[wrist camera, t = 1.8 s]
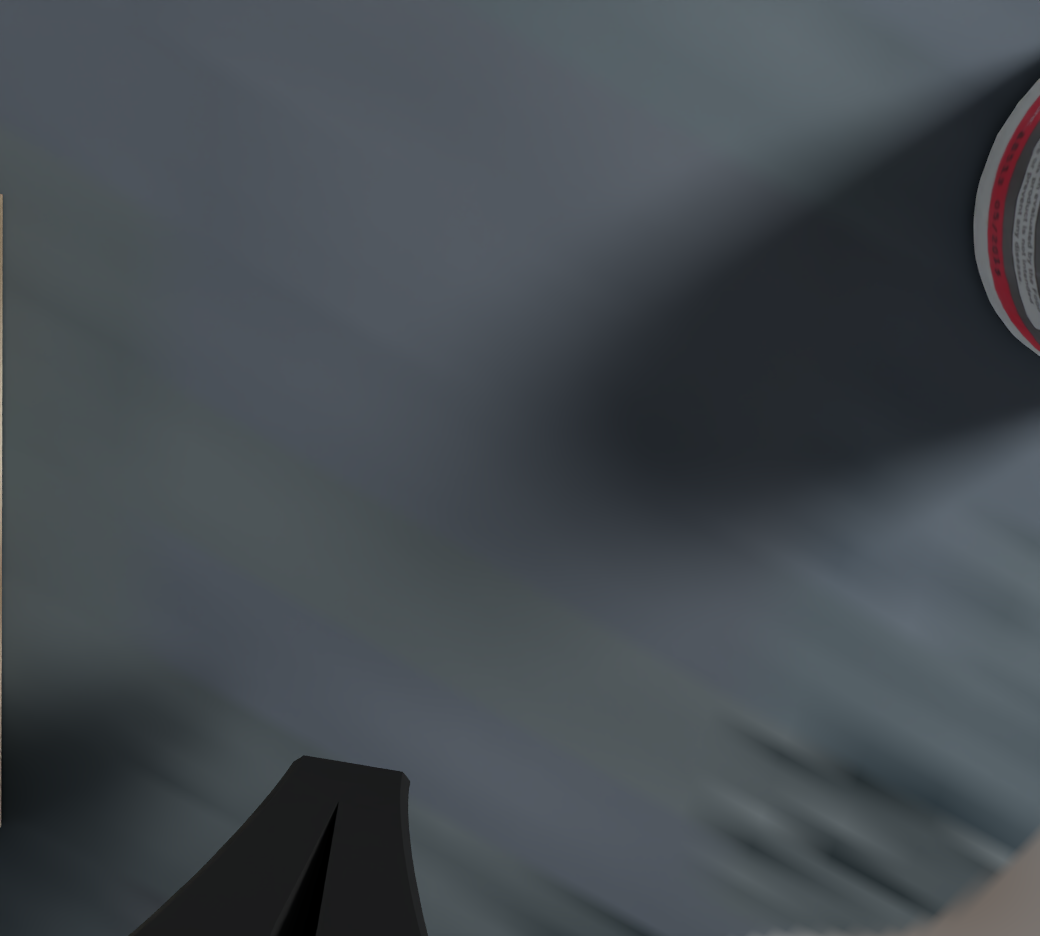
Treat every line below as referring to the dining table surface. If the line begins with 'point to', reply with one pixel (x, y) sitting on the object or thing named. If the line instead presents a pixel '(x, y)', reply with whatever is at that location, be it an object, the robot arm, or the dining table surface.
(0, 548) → the bench
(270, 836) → the robot arm
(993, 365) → the dining table surface
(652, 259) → the dining table surface
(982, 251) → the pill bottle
